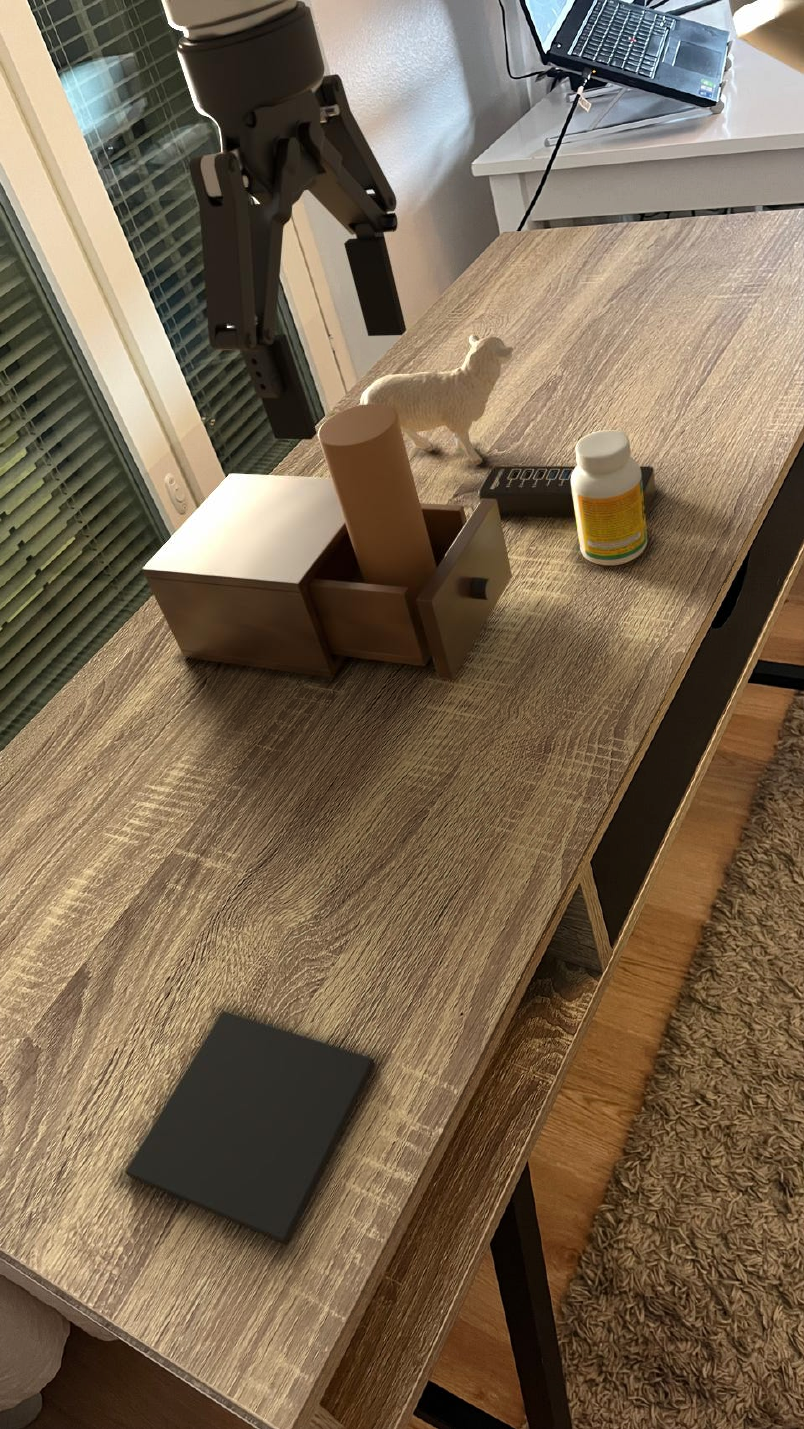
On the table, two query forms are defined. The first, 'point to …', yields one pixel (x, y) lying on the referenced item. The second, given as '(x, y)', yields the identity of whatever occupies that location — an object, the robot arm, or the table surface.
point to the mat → (252, 1124)
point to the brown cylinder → (378, 497)
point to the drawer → (447, 603)
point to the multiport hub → (542, 490)
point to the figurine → (444, 395)
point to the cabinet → (251, 574)
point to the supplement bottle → (608, 499)
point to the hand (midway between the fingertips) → (344, 382)
